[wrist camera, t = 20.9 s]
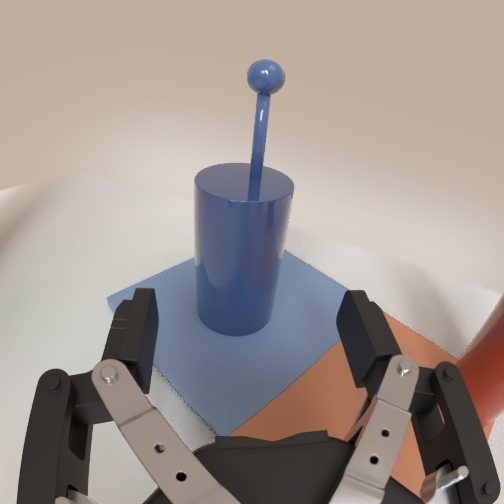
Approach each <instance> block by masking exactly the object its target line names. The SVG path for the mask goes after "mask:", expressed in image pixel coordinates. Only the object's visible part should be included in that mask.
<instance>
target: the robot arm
mask: <svg viewBox="0 0 504 504" xmlns="http://www.w3.org/2000/svg"><path fill="white" fill-rule="evenodd" d="M336 326H337V330H338V333H339V336H340V339H341V342H342V345H343V348H344V351H345V354H346V357H347V361H348V364H349V367H350V370H351V373H352V376H353V380H354V383H355V386H356V389H357V388H364V387H365V388H366V391H367V395H366V397H365V399H364V401H363V403H362V406H361V408H360V410H359V412H358V414H357V416H356V418H355V421H354V423H353V425H352V427H351V428H350V430H349V432H348V433H347V435H346V436H345V438H344V439H343V440H342V439H339V438H336V437H331V436H328V431H327V430H320V431H311V432H301V433H298V434H295V435H292V436H289V437H286V438H283V439H280V440H277V441H268V440H262V439H257V438H251V437H246V436H215V441H216V442H215V443H211V444H208V445H205V446H202V447H200V448H198V449H196V450H194V451H193V452H191V451H190V450H189V448H188V447H187V446H186V445H185V444H184V442H183V441H182V440H181V439H180V437H179V436H178V435H177V434H176V432H175V431H174V430H173V429H172V427H171V426H170V425H169V423H168V422H167V421H166V419H165V418H164V417H163V415H162V414H161V413H160V412H159V410H158V409H157V408H156V407H153V406H152V404H151V403H150V401H149V400H148V399H147V397H146V396H145V394H149V390H150V382H151V375H152V367H153V360H154V354H155V347H156V340H157V334H158V328H159V314H158V307H157V301H156V294H155V289H154V288H138V287H137V288H136V289H135V292H134V295H133V299H132V300H125V299H124V300H123V301H122V302H121V303H120V304H119V306H118V307H117V308H116V311H115V314H114V317H113V321H112V324H111V329H110V331H109V334H108V338H107V342H106V345H105V349H104V353H103V356H102V359H101V361H100V362H99V363H98V364H97V365H96V366H95V367H94V369H93V370H91V371H89V372H87V373H83V374H77V375H71V376H69V375H68V374H67V373H66V372H65V371H63V370H61V369H51V370H48V371H46V372H45V373H44V374H43V375H42V376H41V377H40V379H39V381H38V384H37V388H36V392H35V396H34V400H33V404H32V409H31V413H30V418H29V422H28V427H27V432H26V437H25V443H24V449H23V455H22V461H21V468H20V476H19V484H18V494H17V504H97V503H96V502H95V501H94V500H93V499H91V498H89V497H88V477H89V462H90V450H91V440H92V431H93V424H98V423H104V422H110V421H115V423H116V425H117V426H118V428H119V430H120V432H121V433H122V435H123V436H124V438H125V439H126V441H127V443H128V444H129V446H130V447H131V449H132V450H133V452H134V453H135V455H136V456H137V457H138V459H139V460H140V462H141V463H142V465H143V466H144V467H145V469H146V470H147V472H148V473H149V474H150V476H151V477H152V478H153V480H154V481H155V482H156V484H157V485H158V486H159V487H158V488H157V489H156V490H155V491H154V492H153V493H152V494H151V495H150V496H149V497H148V498H147V500H146V501H145V502H144V503H143V504H493V503H494V502H495V501H496V500H497V498H498V496H499V494H500V482H499V478H498V474H497V471H496V467H495V464H494V461H493V457H492V454H491V451H490V448H489V445H488V442H487V439H486V436H485V433H484V430H483V427H482V425H481V422H480V419H479V417H478V414H477V411H476V409H475V406H474V404H473V401H472V398H471V396H470V394H469V391H468V389H467V386H466V384H465V382H464V379H463V377H462V375H461V372H460V370H459V369H458V368H457V366H455V365H454V364H453V363H451V362H448V361H443V362H440V363H439V364H438V365H437V366H436V367H435V368H427V367H421V366H418V364H417V363H416V362H415V360H413V359H412V358H411V357H409V356H407V355H403V354H402V352H401V350H400V348H399V345H398V343H397V341H396V339H395V337H394V334H393V332H392V330H391V328H389V324H388V322H387V320H386V317H385V315H384V313H383V311H382V309H381V308H380V307H379V306H378V305H377V304H376V303H375V302H374V301H373V302H370V301H369V299H368V297H367V295H366V293H365V291H364V290H347V291H346V292H345V294H344V297H343V300H342V302H341V305H340V308H339V311H338V313H337V317H336ZM438 406H439V407H440V410H441V413H442V416H443V419H444V423H443V419H442V417H441V414H440V411H439V408H438ZM410 420H411V423H412V427H413V430H414V434H415V437H416V441H417V445H418V448H419V452H420V456H421V460H422V464H423V468H424V472H425V477H426V478H425V479H424V480H423V483H422V487H421V490H420V496H421V498H420V497H418V496H417V495H416V494H414V493H413V492H412V491H410V490H409V489H408V488H406V487H405V486H404V485H402V484H401V483H400V482H398V481H397V480H396V479H394V478H393V477H392V476H391V475H390V474H391V472H392V469H393V467H394V464H395V462H396V459H397V457H398V454H399V452H400V449H401V446H402V443H403V441H404V438H405V435H406V432H407V429H408V426H409V423H410Z"/></svg>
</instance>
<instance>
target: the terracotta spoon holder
mask: <svg viewBox="0 0 504 504" xmlns="http://www.w3.org/2000/svg"><path fill="white" fill-rule="evenodd" d="M454 365H455V366H457V368H458V369H459V370H460V372H461V375H462V377H463V379H464V382H465V384H466V386H467V389H468V391H469V394H470V396H471V398H472V401H473V404H474V406H475V409H476V411H477V414H478V417H479V419H480V422H481V425H482V427H483V428H485V427H487V426H488V425H489V424H490V423H492V422H493V421H494V420H495V419H496V418H497V417H499V416H500V415H501V414H502V413H503V412H504V293H503V295H502V297H501V298H500V300H499V301H498V303H497V305H496V306H495V308H494V309H493V311H492V312H491V314H490V315H489V317H488V318H487V320H486V321H485V323H484V324H483V326H482V327H481V329H480V330H479V332H478V333H477V334H476V336H475V337H474V339H473V340H472V341H471V343H470V344H469V345H468V347H467V348H466V349H465V351H464V352H463V353H462V355H461V356H460V357H459V359H458V360H457V361H456V362H455V364H454Z"/></svg>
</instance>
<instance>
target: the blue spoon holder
mask: <svg viewBox="0 0 504 504" xmlns="http://www.w3.org/2000/svg"><path fill="white" fill-rule="evenodd" d="M247 81H248V85H249V86H250V87H251V89H252V90H253V91H255V92H256V93H258V94H257V104H256V114H255V124H254V135H253V145H252V156H251V164H247V163H225V164H218V165H214V166H210V167H207V168H205V169H203V170H201V171H200V172H198V174H197V175H196V176H195V179H194V247H195V287H196V310H197V314H198V317H199V319H200V320H201V321H202V323H203V324H204V325H205V326H207V327H208V328H209V329H211V330H212V331H214V332H217V333H219V334H222V335H227V336H246V335H250V334H253V333H256V332H258V331H259V330H261V329H262V328H264V327H265V326H266V325H267V324H268V322H269V321H270V319H271V317H272V312H273V307H274V301H275V296H276V291H277V285H278V280H279V274H280V269H281V263H282V257H283V252H284V246H285V240H286V234H287V229H288V223H289V216H290V211H291V204H292V198H293V192H294V184H293V181H292V180H291V179H290V178H289V177H288V176H286V175H285V174H283V173H281V172H279V171H277V170H274V169H272V168H269V167H265V166H263V161H264V152H265V142H266V133H267V124H268V115H269V105H270V97H271V94H274V93H276V92H277V91H279V90H280V89H281V88H282V86H283V84H284V81H285V74H284V70H283V68H282V67H281V66H280V65H279V64H278V63H276V62H274V61H272V60H268V59H267V60H266V59H264V60H259V61H257V62H255V63H254V64H252V65H251V67H250V68H249V70H248V72H247Z"/></svg>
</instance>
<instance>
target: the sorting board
mask: <svg viewBox="0 0 504 504" xmlns="http://www.w3.org/2000/svg"><path fill="white" fill-rule="evenodd" d="M137 287H138V288H154V289H155V294H156V301H157V307H158V314H159V328H158V334H157V340H156V347H155V354H154V360H153V364H154V365H155V366H156V367H157V369H158V370H159V371H160V372H161V373H162V375H163V376H164V377H165V378H166V379H167V380H168V382H169V383H170V384H171V385H172V386H173V387H174V388H175V390H176V391H177V392H178V393H179V394H180V395H181V396H182V398H183V399H184V400H185V401H186V402H187V403H188V404H189V405H190V406H191V407H192V408H193V410H194V411H195V412H196V413H197V414H198V415H199V416H200V417H201V418H202V419H203V420H204V421H205V422H206V423H207V424H208V425H209V426H210V427H211V428H212V429H213V430H214V431H215V432H216V433H217V434H218V435H219V436H246V437H251V438H257V439H262V440H268V441H277V440H280V439H283V438H286V437H289V436H292V435H295V434H298V433H301V432H311V431H320V430H327V431H328V436H331V437H336V438H339V439H342V440H343V439H344V438H345V436H346V435H347V433H348V432H349V430H350V428H351V427H352V425H353V423H354V421H355V418H356V416H357V414H358V412H359V410H360V408H361V406H362V403H363V401H364V399H365V397H366V395H367V391H366V388H365V387H364V388H357V389H356V386H355V383H354V380H353V376H352V373H351V370H350V367H349V364H348V361H347V357H346V354H345V351H344V348H343V345H342V342H341V339H340V336H339V333H338V330H337V326H336V317H337V313H338V311H339V308H340V305H341V302H342V300H343V297H344V294H345V292H346V291H347V290H349V289H347V288H346V287H344V286H342V285H341V284H339V283H338V282H336V281H334V280H333V279H331V278H330V277H328V276H326V275H325V274H323V273H322V272H320V271H318V270H317V269H315V268H313V267H312V266H310V265H309V264H307V263H305V262H304V261H302V260H301V259H299V258H297V257H296V256H294V255H292V254H291V253H289V252H288V251H286V250H284V252H283V257H282V263H281V269H280V274H279V280H278V285H277V291H276V296H275V301H274V307H273V312H272V317H271V319H270V321H269V322H268V324H267V325H266V326H265V327H264V328H262V329H261V330H259V331H258V332H256V333H253V334H250V335H246V336H227V335H222V334H219V333H217V332H214V331H212V330H211V329H209V328H208V327H207V326H205V325H204V324H203V323H202V321H201V320H200V319H199V317H198V314H197V310H196V287H195V257H194V258H192V259H190V260H188V261H185V262H183V263H181V264H179V265H176V266H174V267H172V268H170V269H168V270H165V271H163V272H161V273H159V274H157V275H155V276H152V277H150V278H148V279H146V280H144V281H141V282H139V283H137V284H135V285H133V286H131V287H128V288H126V289H124V290H122V291H120V292H118V293H116V294H113V295H111V296H109V297H107V300H108V304H109V306H110V307H111V309H112V310H113V311H114V313H115V311H116V308H117V307H118V306H119V304H120V303H121V302H122V301H123V300H124V299H125V300H132V299H133V295H134V292H135V289H136V288H137ZM383 313H384V315H385V317H386V320H387V322H388V324H389V328H391V330H392V332H393V334H394V337H395V339H396V341H397V343H398V345H399V348H400V350H401V352H402V354H403V355H407V356H409V357H411V358H412V359H413V360H415V362H416V363H417V364H418V366H421V367H427V368H435V367H436V366H437V365H438V364H439V363H440V362H443V361H448V362H451V363H453V364H455V362H456V361H457V360H458V359H456V358H455V357H453V356H452V355H450V354H449V353H447V352H446V351H444V350H443V349H441V348H440V347H438V346H436V345H435V344H433V343H432V342H430V341H429V340H427V339H426V338H424V337H423V336H421V335H419V334H418V333H416V332H415V331H413V330H412V329H410V328H409V327H407V326H405V325H404V324H402V323H401V322H399V321H398V320H396V319H395V318H393V317H391V316H390V315H388V314H387V313H385V312H384V311H383ZM438 408H439V411H440V414H441V417H442V419H443V416H442V413H441V410H440V407H439V406H438ZM443 423H444V419H443ZM493 424H494V421H493V422H492V423H490V424H489V425H488V426H487V427H485V428H483V430H484V433H485V436H486V439H487V441H488V438H489V435H490V433H491V430H492V427H493ZM390 475H391V476H392V477H393V478H394V479H396V480H397V481H398V482H400V483H401V484H402V485H404V486H405V487H406V488H408V489H409V490H410V491H412V492H413V493H414V494H416V495H417V496H418V497H420V498H421V496H420V490H421V487H422V483H423V480H424V479H425V478H426V477H425V472H424V468H423V464H422V460H421V456H420V452H419V448H418V445H417V441H416V437H415V434H414V430H413V427H412V423H411V420H410V423H409V426H408V429H407V432H406V435H405V438H404V441H403V443H402V446H401V449H400V452H399V454H398V457H397V459H396V462H395V464H394V467H393V469H392V472H391V474H390Z"/></svg>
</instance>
